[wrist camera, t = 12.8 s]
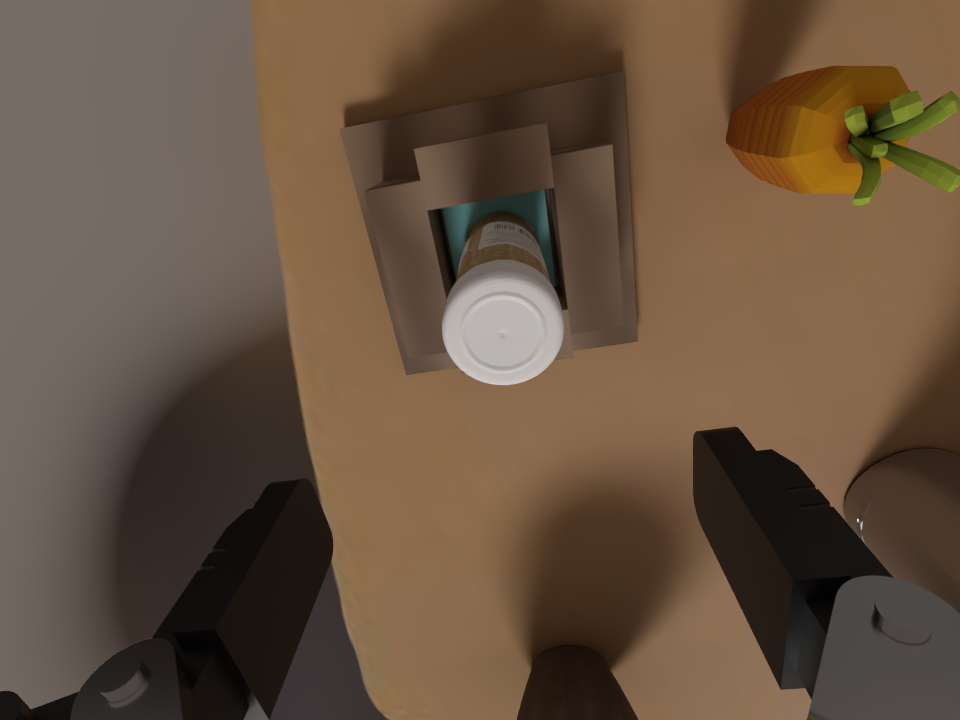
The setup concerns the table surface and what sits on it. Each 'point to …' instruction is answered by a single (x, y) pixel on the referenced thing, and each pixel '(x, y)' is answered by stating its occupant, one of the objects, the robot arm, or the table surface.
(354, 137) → the socket block
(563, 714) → the plant pot
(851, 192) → the carrot
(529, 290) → the sprinkles bottle
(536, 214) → the teal square tile
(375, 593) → the table surface
